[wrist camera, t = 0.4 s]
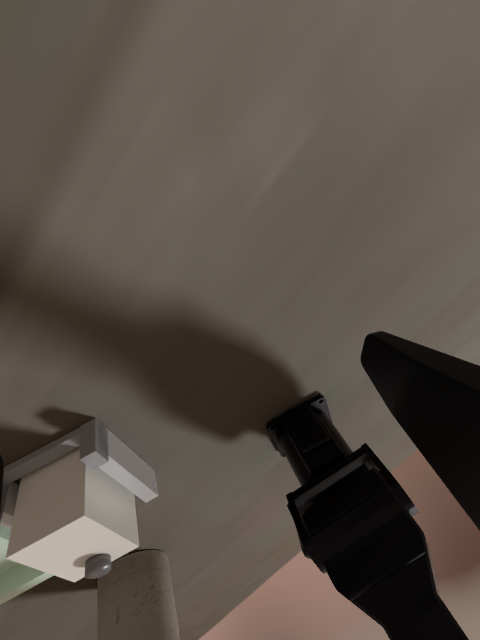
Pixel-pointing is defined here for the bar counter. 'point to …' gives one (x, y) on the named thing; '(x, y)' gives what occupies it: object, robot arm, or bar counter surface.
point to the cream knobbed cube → (72, 520)
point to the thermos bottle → (137, 599)
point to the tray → (15, 572)
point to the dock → (94, 451)
